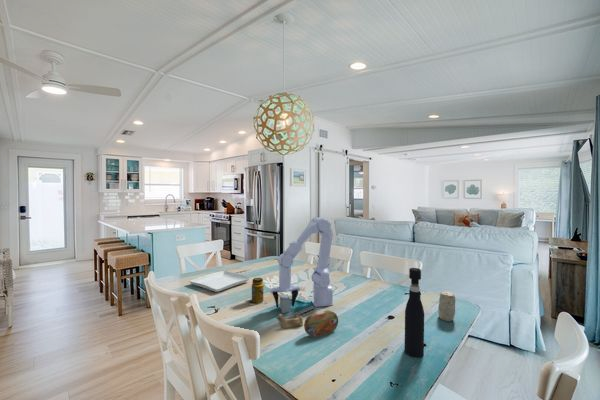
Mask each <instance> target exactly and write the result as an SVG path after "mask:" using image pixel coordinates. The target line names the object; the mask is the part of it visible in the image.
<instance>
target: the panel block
mask: <svg viewBox="0 0 600 400" xmlns="http://www.w3.org/2000/svg"><path fill="white" fill-rule="evenodd" d="M279 308H280V311H281V314H285V313H291V310H292V309H291V308H292V299H291V298H290V296H289V294H281V295H279Z"/></svg>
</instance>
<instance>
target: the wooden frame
mask: <svg viewBox="0 0 600 400" xmlns="http://www.w3.org/2000/svg"><path fill="white" fill-rule="evenodd" d="M277 316H278V318H279V319H280V322H281V325H282V328H283V329H286V328H287V329H288V328H295V327H302V326H303V327H304V323H303V322H304V317H303V316H301V315H299V312H297V311H296V312H294V318H286V317H284V316H283V313H279V314H277Z"/></svg>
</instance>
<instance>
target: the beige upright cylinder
mask: <svg viewBox="0 0 600 400" xmlns="http://www.w3.org/2000/svg"><path fill="white" fill-rule="evenodd" d="M437 310H438V311H437V312H438V317H439V318H440V320H442V321H445V322H453V320H454V318H455V315H456V295H455V294H454V292H451V291H448V290H447V291H446V290H444V291H441V292H440V293H439V299H438V309H437Z"/></svg>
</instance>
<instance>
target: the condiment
mask: <svg viewBox="0 0 600 400" xmlns="http://www.w3.org/2000/svg"><path fill="white" fill-rule="evenodd" d="M263 280H264V279H263V278H261V277H253V278H252V284H251V299H249V300H247V299H246V300H245V302H246V303H247V304H249V306H255V305H262V304H264V303H267V301H265V300H264V281H263Z"/></svg>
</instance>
